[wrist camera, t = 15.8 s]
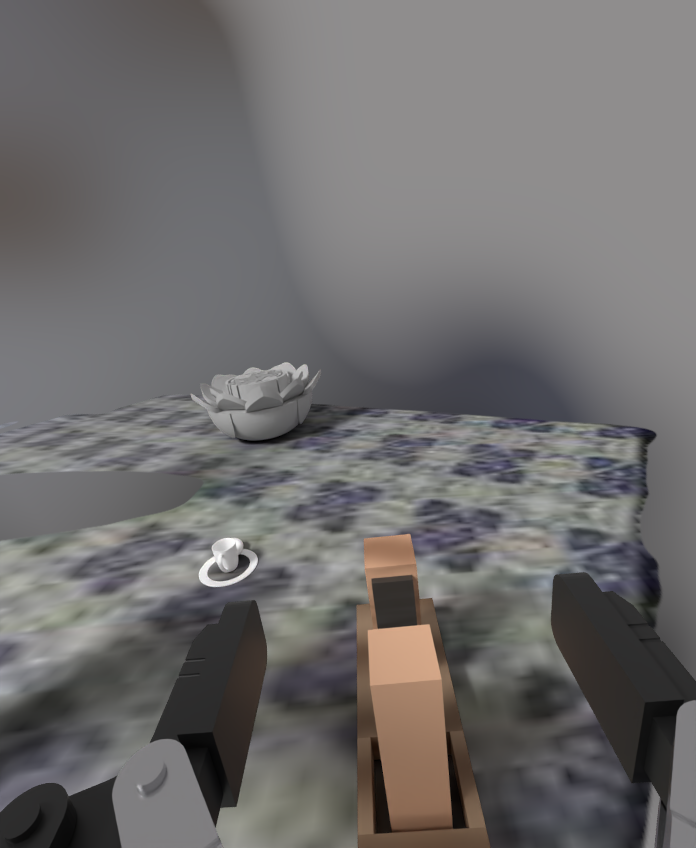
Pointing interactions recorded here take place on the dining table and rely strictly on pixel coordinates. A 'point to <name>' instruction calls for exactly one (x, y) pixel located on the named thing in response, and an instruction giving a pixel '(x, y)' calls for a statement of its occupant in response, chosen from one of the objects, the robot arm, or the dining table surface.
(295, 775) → the dining table surface
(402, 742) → the tall tan pillar block
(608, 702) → the robot arm
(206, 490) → the dining table surface
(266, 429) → the decorative bowl
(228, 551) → the teacup and saucer
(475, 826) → the rail
